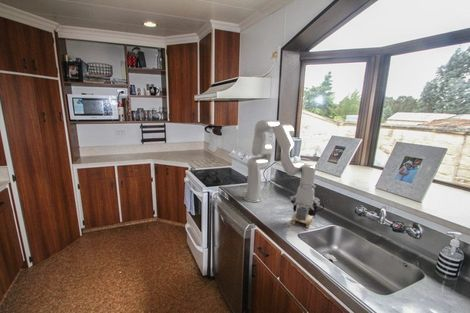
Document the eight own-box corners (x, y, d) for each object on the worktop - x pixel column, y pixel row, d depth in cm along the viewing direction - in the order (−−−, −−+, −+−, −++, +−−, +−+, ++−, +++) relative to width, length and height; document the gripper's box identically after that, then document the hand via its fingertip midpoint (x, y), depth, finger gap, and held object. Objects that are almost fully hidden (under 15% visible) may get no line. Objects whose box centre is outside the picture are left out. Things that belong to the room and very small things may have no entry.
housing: (299, 213, 148) (300, 203, 147) (308, 215, 146) (309, 205, 144) (295, 217, 141) (297, 207, 140) (305, 220, 139) (306, 210, 137)
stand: (291, 223, 142) (292, 217, 141) (295, 217, 151) (296, 211, 150) (308, 228, 137) (309, 222, 137) (311, 222, 146) (312, 215, 145)
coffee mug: (301, 211, 161) (303, 197, 159) (311, 210, 164) (313, 196, 162) (312, 218, 151) (314, 203, 149) (323, 217, 154) (325, 202, 152)
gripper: (322, 187, 139) (319, 214, 142) (293, 181, 146) (290, 207, 150) (320, 190, 132) (316, 219, 136) (290, 184, 140) (287, 211, 143)
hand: (302, 213), depth 143 cm, fingers open, 9 cm apart
